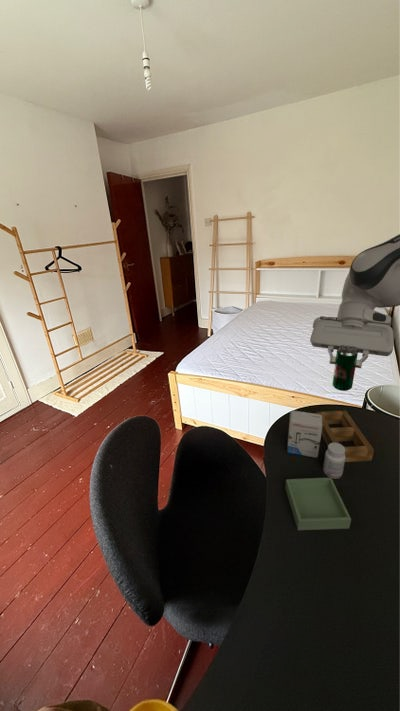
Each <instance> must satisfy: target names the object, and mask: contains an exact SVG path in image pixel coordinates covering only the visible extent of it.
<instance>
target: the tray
mask: <svg viewBox="0 0 400 711" xmlns="http://www.w3.org/2000/svg"><path fill="white" fill-rule="evenodd" d="M284 490H285V491H286V495H287V500H288V502H289V505H290V509H291V512H292V516H293V519H294V522H295V527H296V529H297V531H318V530H349V529H350V528H351V527H350V526H351V522H352V518H351V516H350V514H349V512H348V509H347V507H346V505H345V503H344V501H343V499H342V496H341V495H340V492H339V491H338V489H337V486H336V485H335V483H334V480H333V478H330V477H309V478H289V479H285V489H284Z"/></svg>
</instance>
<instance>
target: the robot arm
mask: <svg viewBox="0 0 400 711" xmlns="http://www.w3.org/2000/svg"><path fill="white" fill-rule="evenodd" d="M399 306H400V233H399V234H397V235H395V236H393V237H392V238H390V239H388V240H386V241H384V242H381V243H379V244H377V245H374V246H371V247H369V248H367V249H364V250H363V251H361V252H359V253H358V254H357V255H356V256H355V257H354V259H353V260H352V262H351V263H350V267H349V272H348V274H347V275H346V277H345V280H344V283H343V287H342V290H341V302H340V303H339V306H338V310H337V314H336V317H335V316H323V315H320V316H319V317H316V318H315V319H314V320H313V322H312V331H311V335H310V339H309V341H310V344H311V346H312V347H314V348H321V349H327V353H328V356H329V364H330V365H335V362H336V355H335V356H334V354H333V353H334V351H337V350H338V349H339V346H341V345H344V346H352V347H353V346H354V347H356V348H357V352H358V354H362V355H361V356H362V357H361V358H360V359H357V361H356V365H355V369H362V368H363V367H362V366H363V363H364V362H365V361H366V360H367V359H368V358H369V355H374V356H380V357H389V356H390V355H392V353H393V351H394V343H395V339H394V338H395V336H394V329H393V328H392V327H391V326H392V317H391V316H390V315H389V314H385V313H382V312H379V311H376V310H375V309H376V308H379V309H380V308H381V309H385V308H395V307H399Z"/></svg>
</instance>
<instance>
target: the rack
mask: <svg viewBox="0 0 400 711" xmlns="http://www.w3.org/2000/svg"><path fill="white" fill-rule="evenodd" d="M315 414H320V415H322V424H323V426H322V433H321V438H323V441H324V443H325V444H326V446H327V447H328V445H329V444H330V443H339V444H340V442H353V444H354V446H344V448H345V463H353V462H354V463H355V462H372V460H373V456H374V452H375V449H374V448H373V446H372V445H371V443H370V441H368V439H367V438H366V437H365V435H364V433H363V432H362V430H360V428H359V427H358V425H357V424H356V422H354V419H352V417H351V415H350V414H349V413H348V411H347V410H331V411H330V410H329V411H316V412H315ZM330 425H341V427H330Z"/></svg>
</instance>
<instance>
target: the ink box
mask: <svg viewBox="0 0 400 711" xmlns="http://www.w3.org/2000/svg"><path fill="white" fill-rule="evenodd" d="M322 426H323V424H322V415H320V414H316V413H312V412H306V411H299V410H291V411H290V414H289V422H288V432H287V433H288V434H287V448H286V451H287V453H289V454H292V455H300V456H304V457H305V456H306V457H311V458H316V459H317V458H319V453H320V452H319V450H320V445H321V439H322V435H321V433H322Z"/></svg>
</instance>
